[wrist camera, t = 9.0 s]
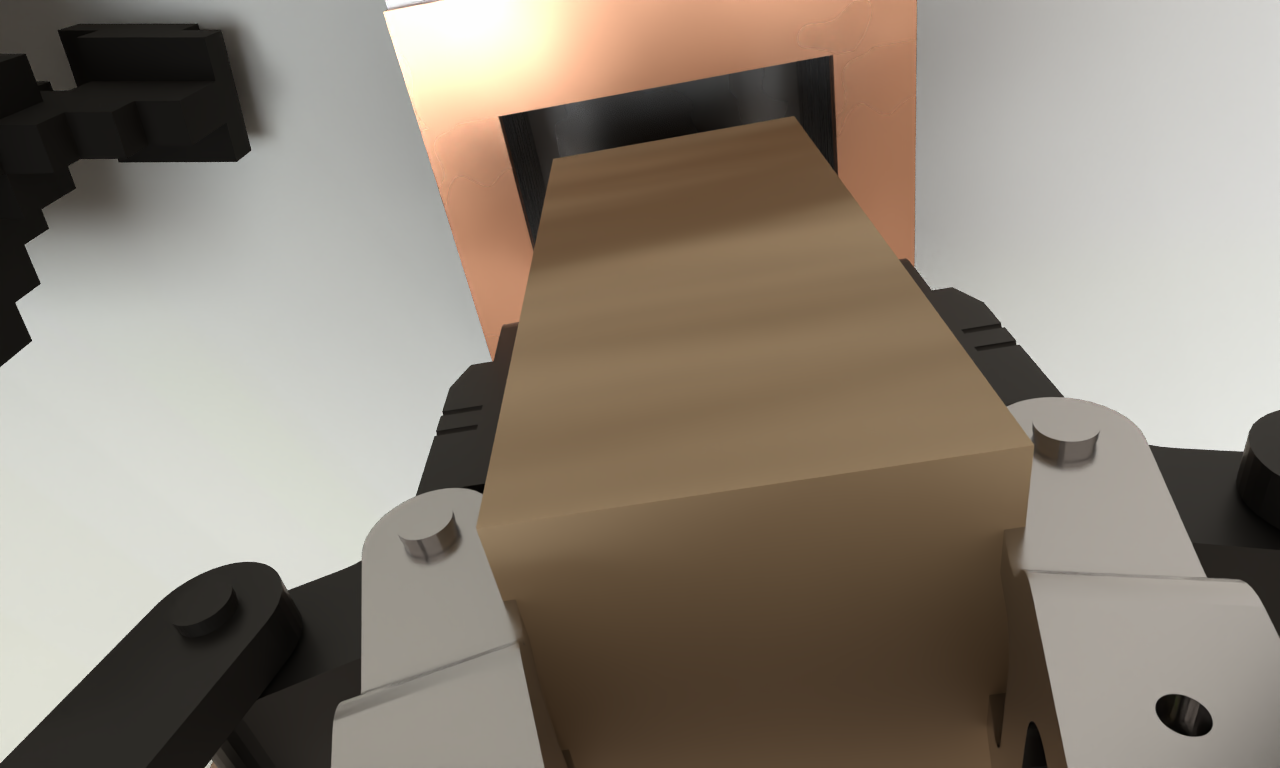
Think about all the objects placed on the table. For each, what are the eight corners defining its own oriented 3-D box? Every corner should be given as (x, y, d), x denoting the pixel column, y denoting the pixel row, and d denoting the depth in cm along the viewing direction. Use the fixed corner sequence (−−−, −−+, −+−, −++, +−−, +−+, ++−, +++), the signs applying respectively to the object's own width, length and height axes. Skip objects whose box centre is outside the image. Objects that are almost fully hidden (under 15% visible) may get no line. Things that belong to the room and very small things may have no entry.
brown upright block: (553, 158, 14) (476, 528, 6) (794, 116, 13) (1033, 445, 6) (599, 363, 16) (587, 827, 8) (808, 329, 15) (998, 777, 8)
